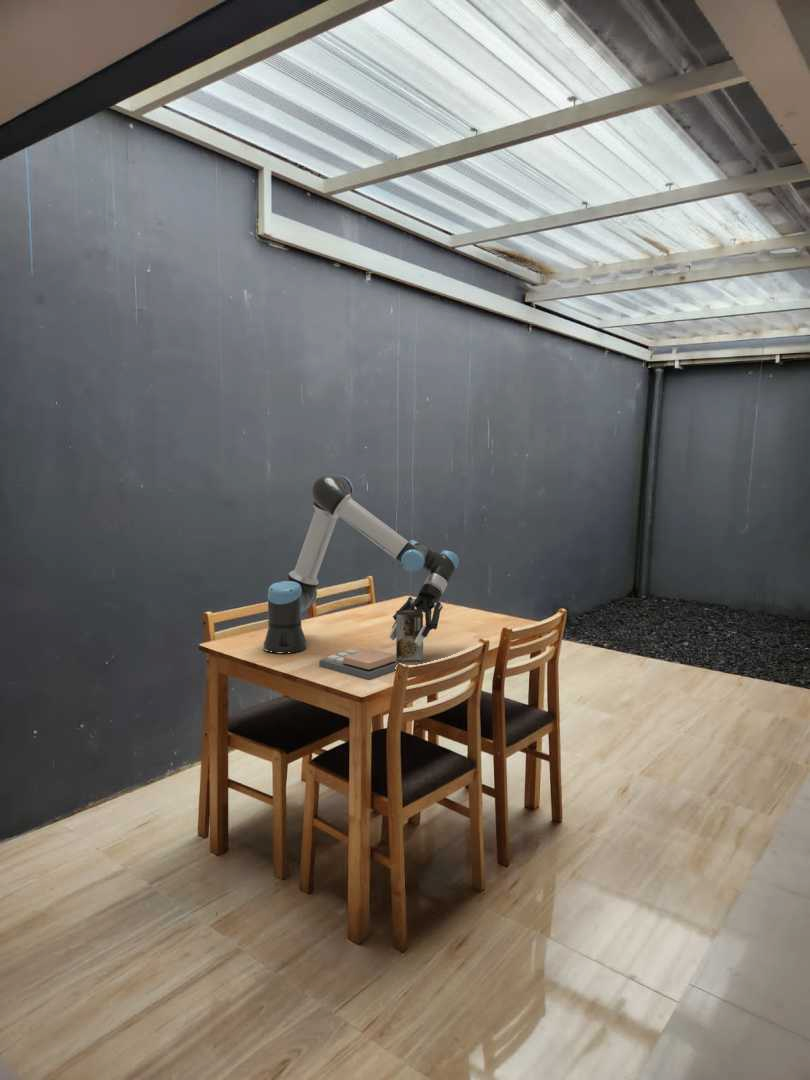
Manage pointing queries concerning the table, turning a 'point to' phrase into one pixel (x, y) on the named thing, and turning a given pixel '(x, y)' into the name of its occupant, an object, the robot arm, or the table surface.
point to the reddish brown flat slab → (369, 659)
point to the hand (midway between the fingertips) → (404, 640)
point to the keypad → (337, 664)
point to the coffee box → (408, 635)
